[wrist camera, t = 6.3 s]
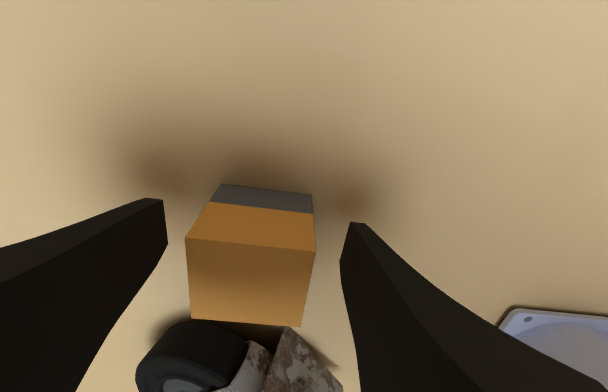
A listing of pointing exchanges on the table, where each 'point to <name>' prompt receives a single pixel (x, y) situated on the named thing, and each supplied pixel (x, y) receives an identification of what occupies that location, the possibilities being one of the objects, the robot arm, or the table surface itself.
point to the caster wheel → (230, 364)
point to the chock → (251, 256)
